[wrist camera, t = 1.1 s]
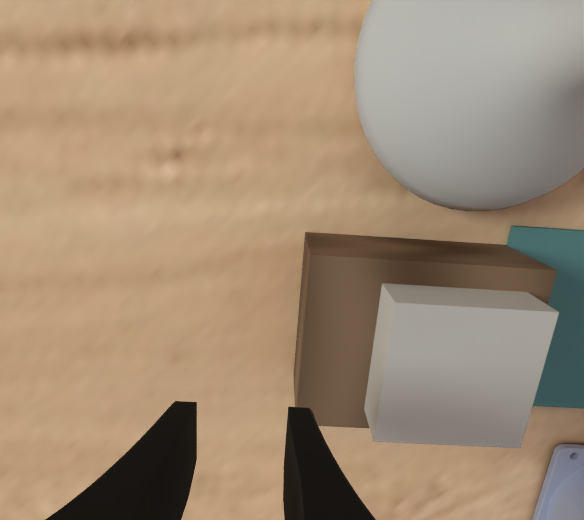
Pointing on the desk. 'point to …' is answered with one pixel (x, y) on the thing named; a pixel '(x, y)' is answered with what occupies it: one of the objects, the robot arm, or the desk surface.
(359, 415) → the block
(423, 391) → the tile
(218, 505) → the desk surface
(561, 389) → the mat
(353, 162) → the desk surface
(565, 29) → the flower in vase
